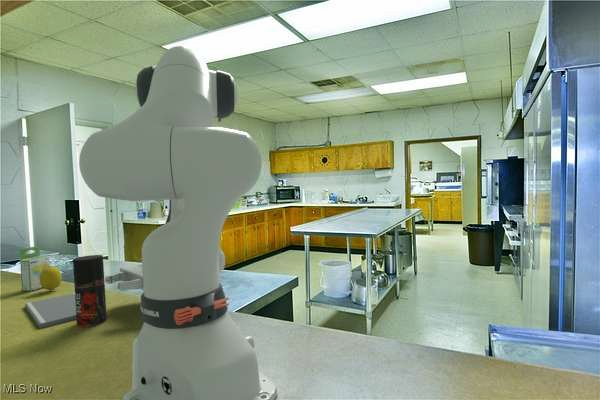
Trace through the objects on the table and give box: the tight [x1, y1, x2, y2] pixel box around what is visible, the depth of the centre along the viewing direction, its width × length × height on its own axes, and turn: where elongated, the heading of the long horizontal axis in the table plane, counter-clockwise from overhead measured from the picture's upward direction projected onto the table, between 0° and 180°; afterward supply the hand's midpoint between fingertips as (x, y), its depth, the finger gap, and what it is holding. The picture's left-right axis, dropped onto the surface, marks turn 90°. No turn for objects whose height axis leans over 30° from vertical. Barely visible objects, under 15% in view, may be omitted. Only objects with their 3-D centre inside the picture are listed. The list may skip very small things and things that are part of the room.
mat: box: [24, 292, 77, 329], centre depth 88 cm, size 22×12×1 cm, turn 46°
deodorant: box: [72, 254, 108, 328], centre depth 79 cm, size 6×6×15 cm
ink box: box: [19, 245, 51, 292], centre depth 110 cm, size 7×4×13 cm, turn 168°
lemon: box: [40, 265, 63, 291], centre depth 106 cm, size 6×6×8 cm
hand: (112, 283), depth 82 cm, fingers open, 8 cm apart
